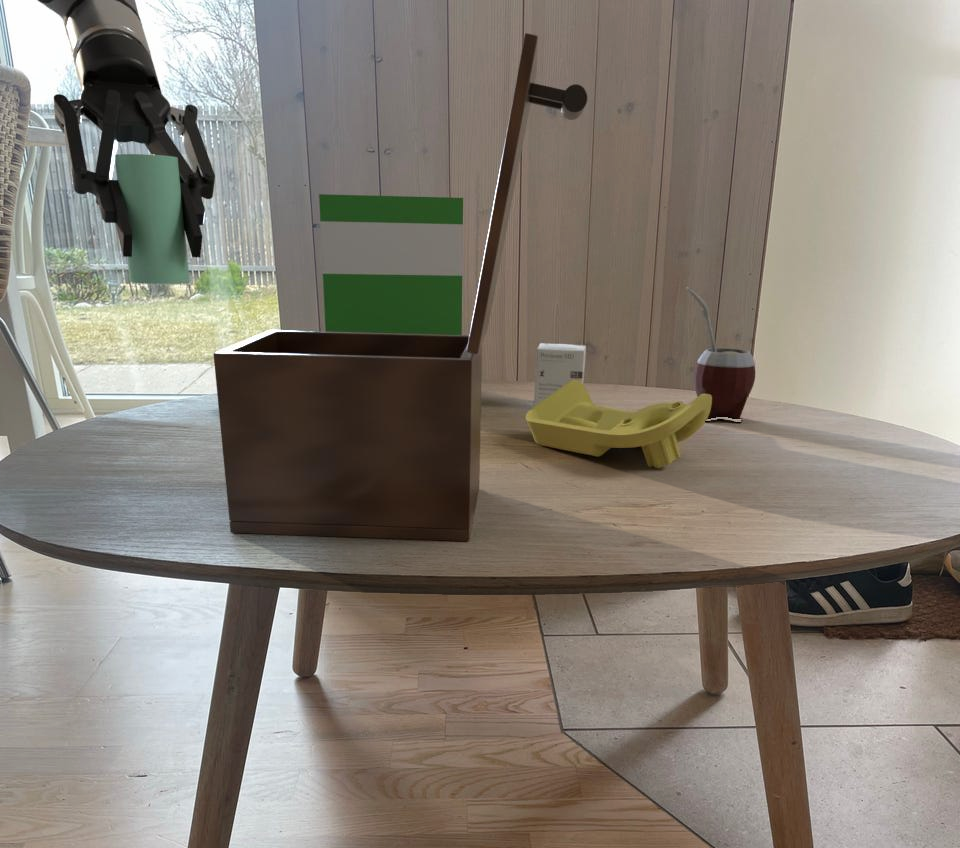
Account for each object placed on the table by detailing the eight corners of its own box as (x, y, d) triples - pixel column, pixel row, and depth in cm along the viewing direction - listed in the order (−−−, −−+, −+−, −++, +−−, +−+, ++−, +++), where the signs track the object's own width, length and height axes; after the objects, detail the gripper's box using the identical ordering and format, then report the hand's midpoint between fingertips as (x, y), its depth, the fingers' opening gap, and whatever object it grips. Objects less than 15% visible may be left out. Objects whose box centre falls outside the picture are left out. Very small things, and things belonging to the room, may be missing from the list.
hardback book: (328, 395, 122) (319, 194, 112) (330, 386, 129) (321, 195, 119) (461, 395, 124) (463, 197, 114) (456, 386, 131) (457, 198, 121)
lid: (525, 32, 55) (600, 49, 55) (526, 69, 68) (586, 83, 68) (466, 352, 62) (532, 366, 63) (477, 328, 76) (532, 340, 76)
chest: (230, 533, 69) (212, 353, 63) (279, 481, 82) (268, 329, 77) (469, 541, 68) (472, 360, 63) (479, 488, 81) (482, 335, 76)
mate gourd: (759, 420, 113) (778, 288, 106) (722, 427, 108) (740, 290, 102) (708, 410, 118) (724, 284, 111) (670, 417, 113) (684, 286, 107)
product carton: (533, 408, 116) (535, 347, 113) (536, 400, 122) (539, 342, 119) (581, 410, 116) (585, 349, 113) (582, 402, 121) (586, 343, 118)
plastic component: (516, 419, 97) (583, 370, 101) (540, 478, 101) (604, 429, 105) (646, 441, 82) (720, 383, 85) (668, 509, 86) (739, 452, 89)
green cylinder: (120, 282, 88) (104, 153, 84) (142, 279, 94) (128, 157, 89) (178, 284, 88) (165, 154, 84) (197, 281, 93) (185, 158, 89)
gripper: (205, 104, 100) (256, 275, 94) (16, 90, 92) (57, 275, 86) (211, 39, 94) (266, 218, 87) (8, 18, 86) (53, 212, 79)
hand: (163, 246), depth 87 cm, fingers closed on green cylinder, 6 cm apart
